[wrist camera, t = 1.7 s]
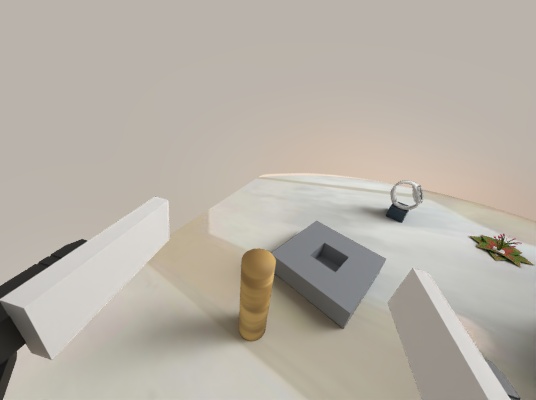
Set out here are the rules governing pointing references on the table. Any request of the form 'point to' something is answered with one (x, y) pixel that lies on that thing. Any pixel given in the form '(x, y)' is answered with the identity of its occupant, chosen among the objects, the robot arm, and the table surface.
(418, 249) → the table surface
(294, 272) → the hole block
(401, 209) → the watch
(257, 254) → the ochre pin
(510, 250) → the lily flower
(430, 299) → the robot arm
